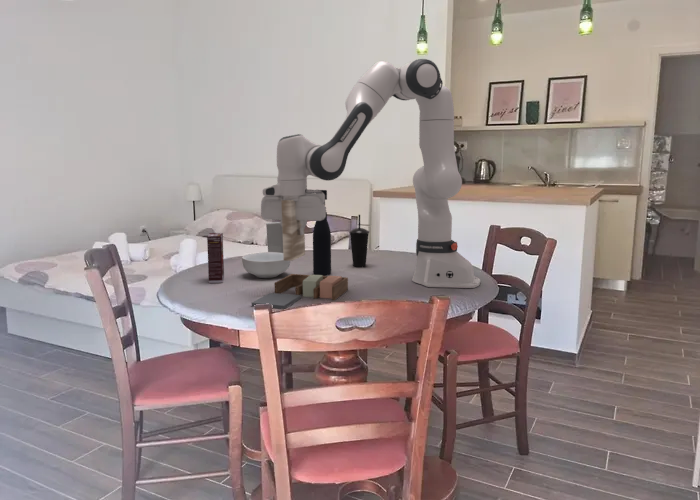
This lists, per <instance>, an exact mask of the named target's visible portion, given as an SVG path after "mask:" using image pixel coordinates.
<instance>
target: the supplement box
mask: <svg viewBox="0 0 700 500" xmlns="http://www.w3.org/2000/svg"><path fill="white" fill-rule="evenodd" d="M223 234H224V233H223V232H210V233H208V235H207V236H206V241H207V242H206V243H207V244H206V245H207V264H208V265H207V267H208V270H207V273H208V283H209V284H223V281H224V278H225V268H224V267H225V266H224V263H225V262H224V238H223V237H224V236H223Z"/></svg>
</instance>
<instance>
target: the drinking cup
mask: <svg viewBox="0 0 700 500" xmlns="http://www.w3.org/2000/svg"><path fill="white" fill-rule="evenodd" d="M348 233H349V234H350V236H349V237H350V247H351V257H352V266H353V267H354V268H366V266H367V256H368V246H369V245H368V243H369V234H370V230H367V229H366V228H363V227H361V214H358V227H356V228H353V229H351V230H349V232H348Z"/></svg>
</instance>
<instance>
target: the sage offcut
mask: <svg viewBox="0 0 700 500" xmlns="http://www.w3.org/2000/svg"><path fill="white" fill-rule="evenodd" d="M309 275H310V276H308V277H307V278H306V279H304V280H303V295H302V297H303V298H314V291H313V289H314V288H316V287H317V286H319V285H320V281H322V280H323V275H314V274H309Z"/></svg>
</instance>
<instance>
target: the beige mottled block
mask: <svg viewBox="0 0 700 500" xmlns="http://www.w3.org/2000/svg"><path fill="white" fill-rule="evenodd" d="M281 202H282V231H283V259H284V260H286V261H290V262H293V261H295V260H297V259H300V258H302V257H304V256H305V255H306V241H305V240H306V239H305V237H306V236H305V231H304V235H297V233H298V232H297V229H300V228H301V225H302V224H300V220H296V214H295V207H296V202H295V201H294V200H282V201H281Z"/></svg>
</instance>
